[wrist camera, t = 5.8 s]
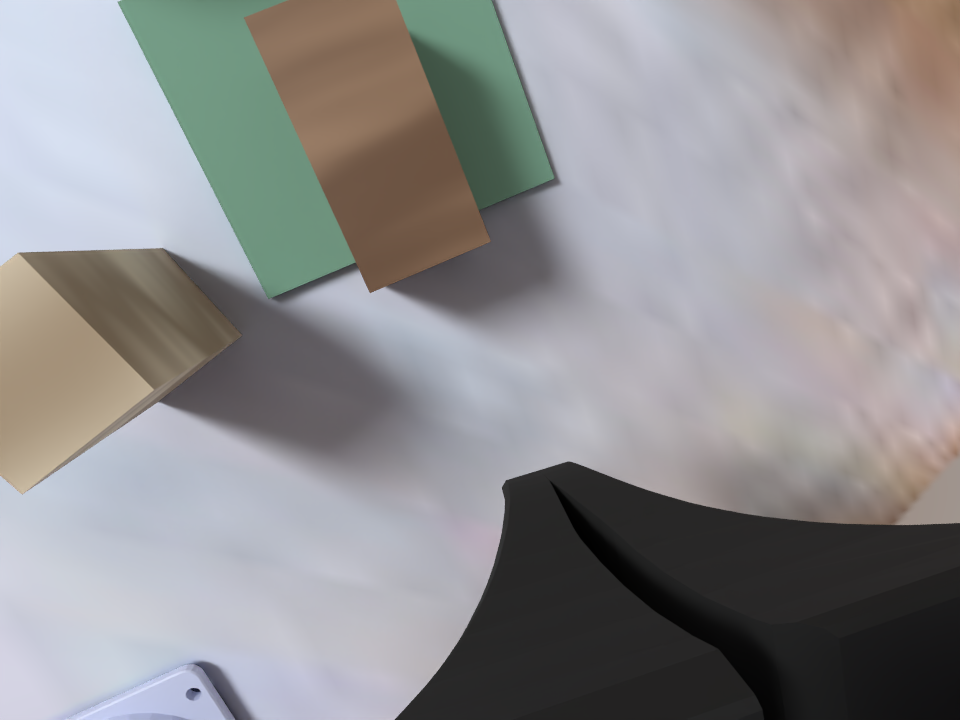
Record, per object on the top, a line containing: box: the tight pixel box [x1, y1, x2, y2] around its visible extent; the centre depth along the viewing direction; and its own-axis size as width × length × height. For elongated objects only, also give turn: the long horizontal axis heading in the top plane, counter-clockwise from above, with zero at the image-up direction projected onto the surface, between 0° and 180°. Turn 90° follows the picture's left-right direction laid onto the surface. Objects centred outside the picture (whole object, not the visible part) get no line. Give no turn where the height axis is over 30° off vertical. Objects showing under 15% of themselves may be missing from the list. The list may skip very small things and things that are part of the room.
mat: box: [118, 0, 554, 299], centre depth 17 cm, size 9×10×1 cm
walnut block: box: [244, 0, 491, 293], centre depth 16 cm, size 4×4×7 cm
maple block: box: [0, 248, 242, 494], centre depth 15 cm, size 4×4×7 cm
